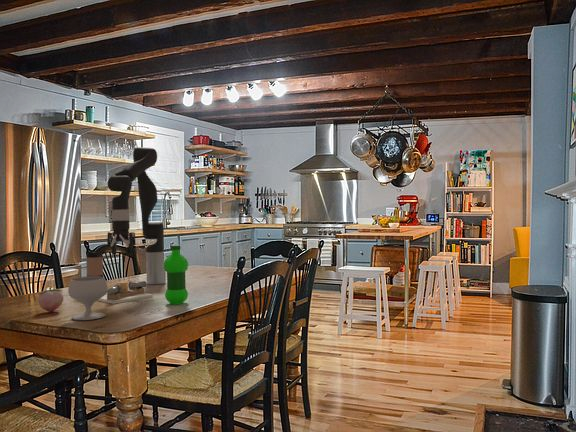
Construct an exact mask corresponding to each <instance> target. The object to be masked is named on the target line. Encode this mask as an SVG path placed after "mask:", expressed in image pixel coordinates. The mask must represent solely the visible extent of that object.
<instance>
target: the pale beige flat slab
mask: <svg viewBox="0 0 576 432" xmlns="http://www.w3.org/2000/svg"><path fill="white" fill-rule="evenodd" d="M153 297H154V295H153V294H151V293H147V292H144V293H142V294H136V293H135V292H133V290H128V293H124V294H121V299H119V300H107V294H105V295H104V296H103V297H102V298H100V299H98V300H97V302H103V303H108V304H119V303H127V302H131V301H138V299H139V300H143V299H144V300H145V299H150V298H153Z"/></svg>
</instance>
